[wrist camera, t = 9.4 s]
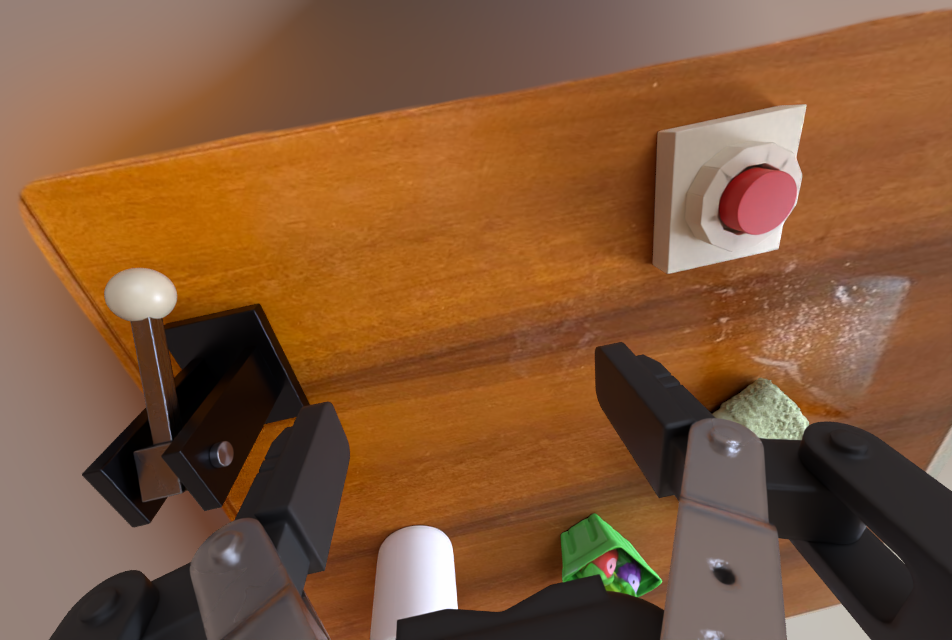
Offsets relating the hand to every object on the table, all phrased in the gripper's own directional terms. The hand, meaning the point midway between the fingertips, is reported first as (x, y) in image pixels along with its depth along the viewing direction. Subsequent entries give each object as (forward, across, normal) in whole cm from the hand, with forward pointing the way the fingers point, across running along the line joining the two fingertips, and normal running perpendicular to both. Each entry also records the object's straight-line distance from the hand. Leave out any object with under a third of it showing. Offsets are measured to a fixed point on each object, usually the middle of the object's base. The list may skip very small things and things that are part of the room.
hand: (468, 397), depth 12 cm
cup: (+19, +10, +36) cm, 42 cm away
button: (+15, -21, 0) cm, 26 cm away
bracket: (+19, +18, +7) cm, 27 cm away
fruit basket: (+20, -11, +40) cm, 46 cm away
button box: (+19, -21, 0) cm, 28 cm away
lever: (+13, +18, +4) cm, 22 cm away
